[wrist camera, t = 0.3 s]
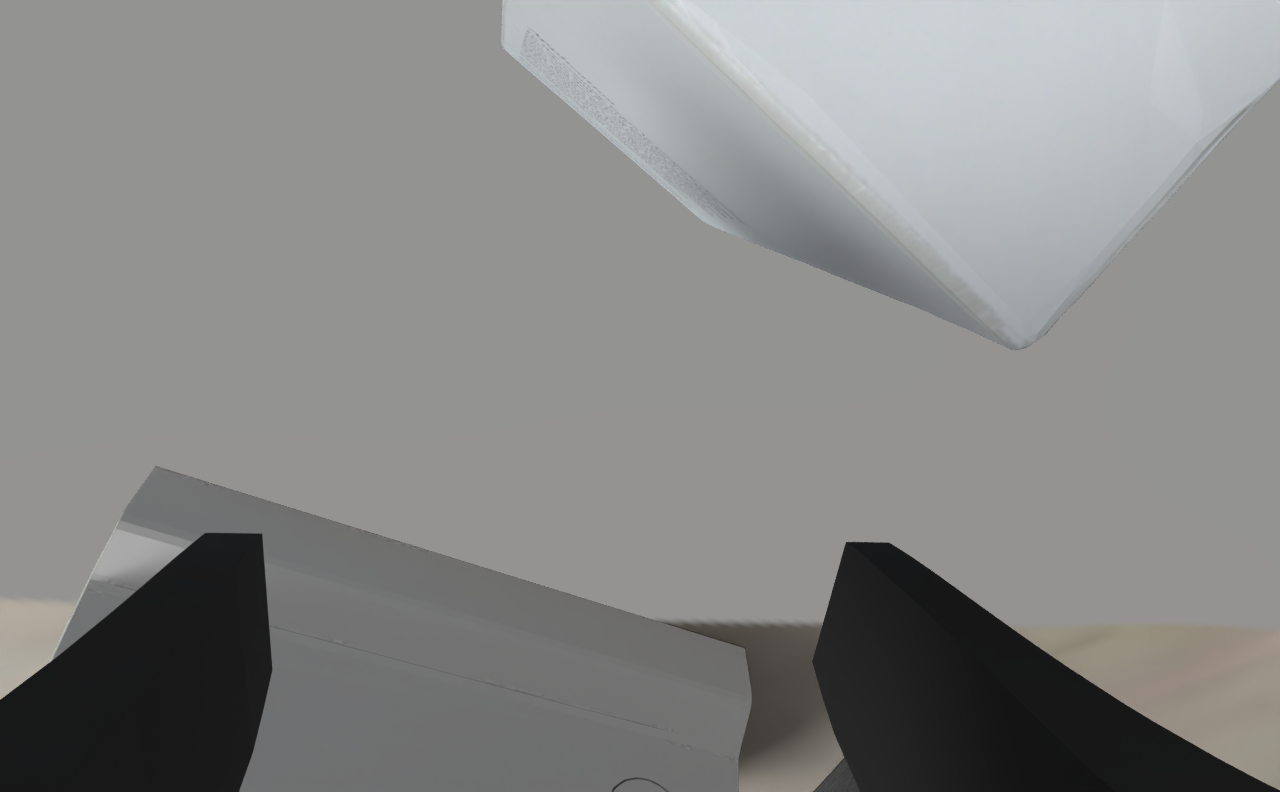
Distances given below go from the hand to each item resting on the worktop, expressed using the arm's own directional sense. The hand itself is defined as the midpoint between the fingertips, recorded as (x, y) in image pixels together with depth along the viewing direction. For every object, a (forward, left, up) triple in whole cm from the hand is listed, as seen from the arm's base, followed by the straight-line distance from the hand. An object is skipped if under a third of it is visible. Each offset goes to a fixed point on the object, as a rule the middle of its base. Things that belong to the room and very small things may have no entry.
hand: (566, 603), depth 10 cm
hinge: (-9, -3, -11) cm, 14 cm away
